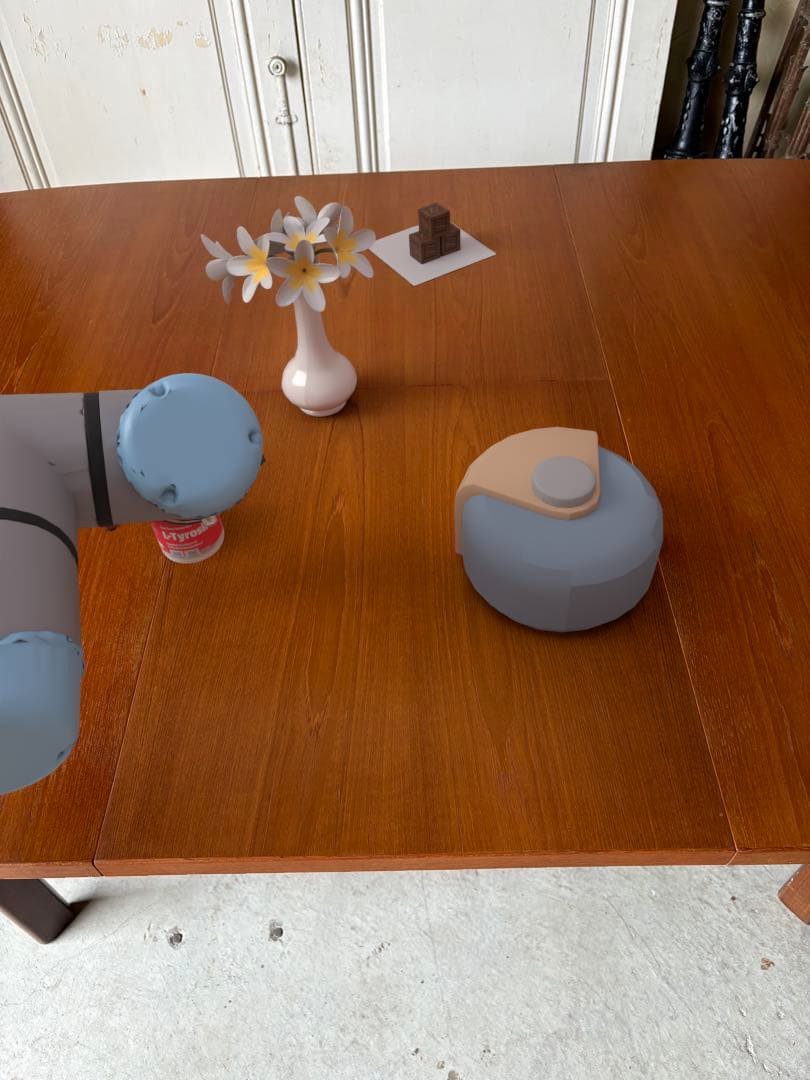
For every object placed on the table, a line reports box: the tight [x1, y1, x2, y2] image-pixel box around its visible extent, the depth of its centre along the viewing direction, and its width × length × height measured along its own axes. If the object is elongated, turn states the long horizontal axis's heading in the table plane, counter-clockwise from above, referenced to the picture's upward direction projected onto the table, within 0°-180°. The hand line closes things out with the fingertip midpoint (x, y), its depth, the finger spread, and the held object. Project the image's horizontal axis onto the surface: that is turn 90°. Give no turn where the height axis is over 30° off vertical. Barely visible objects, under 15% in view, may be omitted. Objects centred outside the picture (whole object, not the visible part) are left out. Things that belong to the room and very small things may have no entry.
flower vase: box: [200, 195, 377, 418], centre depth 93 cm, size 13×18×25 cm
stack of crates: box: [367, 202, 497, 287], centre depth 124 cm, size 15×15×7 cm
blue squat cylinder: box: [454, 426, 664, 633], centre depth 79 cm, size 19×20×12 cm
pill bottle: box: [149, 514, 225, 564], centre depth 75 cm, size 6×6×11 cm
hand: (173, 494), depth 78 cm, fingers closed on pill bottle, 6 cm apart
